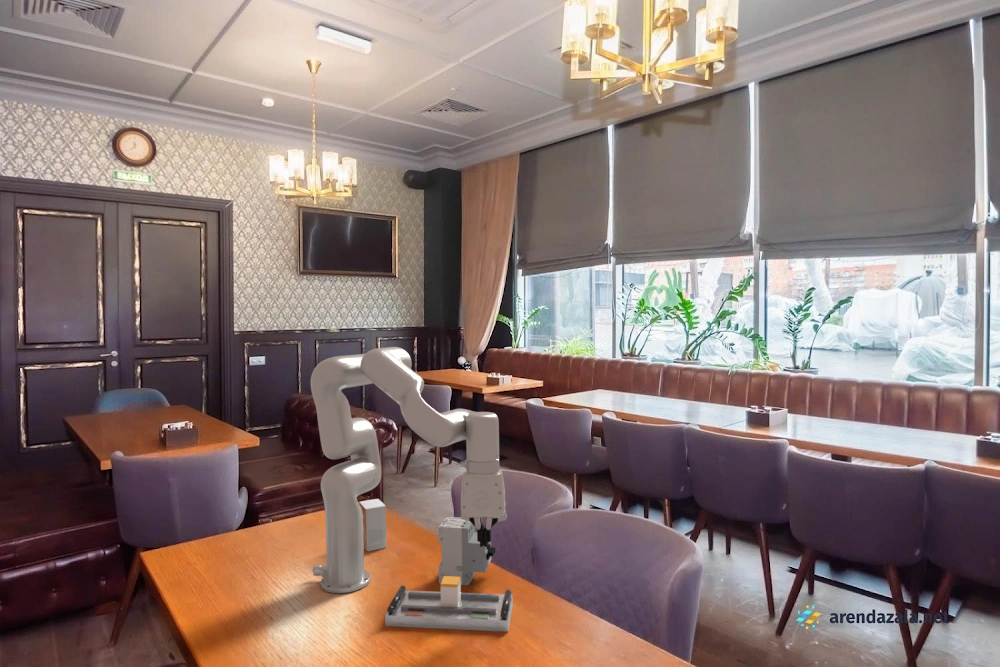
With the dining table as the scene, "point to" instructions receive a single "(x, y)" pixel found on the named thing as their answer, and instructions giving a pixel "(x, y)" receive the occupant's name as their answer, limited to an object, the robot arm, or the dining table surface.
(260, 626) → the dining table surface
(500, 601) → the panel
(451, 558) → the circuit breaker
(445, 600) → the toggle
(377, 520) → the small box
